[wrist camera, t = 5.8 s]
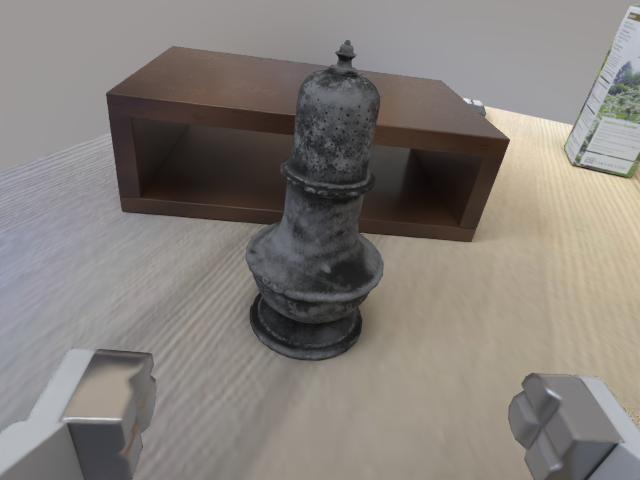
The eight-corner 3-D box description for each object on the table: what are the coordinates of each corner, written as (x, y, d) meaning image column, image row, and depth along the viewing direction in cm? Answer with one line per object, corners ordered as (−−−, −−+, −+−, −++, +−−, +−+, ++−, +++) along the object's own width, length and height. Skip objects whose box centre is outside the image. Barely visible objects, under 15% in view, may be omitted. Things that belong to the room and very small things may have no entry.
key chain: (452, 106, 58) (455, 94, 57) (480, 111, 58) (483, 99, 57) (462, 136, 47) (467, 123, 46) (497, 142, 47) (501, 129, 46)
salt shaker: (271, 265, 23) (293, 19, 17) (378, 296, 22) (444, 45, 16) (219, 339, 18) (220, 32, 12) (352, 384, 17) (432, 73, 11)
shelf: (121, 211, 26) (104, 92, 22) (176, 132, 37) (171, 45, 34) (471, 242, 28) (511, 139, 24) (420, 158, 40) (441, 80, 36)
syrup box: (617, 160, 47) (697, 12, 39) (632, 180, 42) (726, 16, 34) (562, 148, 48) (629, 2, 40) (570, 166, 43) (648, 4, 36)
